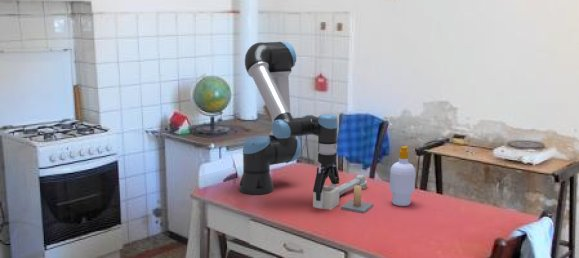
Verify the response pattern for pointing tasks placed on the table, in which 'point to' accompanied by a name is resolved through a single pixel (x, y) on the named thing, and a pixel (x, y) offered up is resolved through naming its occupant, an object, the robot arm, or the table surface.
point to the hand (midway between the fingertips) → (326, 203)
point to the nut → (328, 197)
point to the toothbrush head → (353, 184)
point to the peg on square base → (357, 202)
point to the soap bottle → (402, 179)
